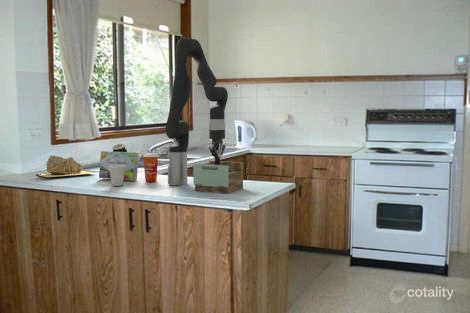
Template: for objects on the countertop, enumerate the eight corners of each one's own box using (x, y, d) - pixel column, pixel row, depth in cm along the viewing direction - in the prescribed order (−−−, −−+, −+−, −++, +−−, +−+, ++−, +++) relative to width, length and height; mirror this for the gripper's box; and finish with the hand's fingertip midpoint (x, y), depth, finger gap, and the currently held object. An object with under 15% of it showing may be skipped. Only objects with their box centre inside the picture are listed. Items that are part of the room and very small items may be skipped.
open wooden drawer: (194, 190, 240) (194, 163, 239) (210, 186, 254) (210, 160, 253) (228, 193, 232) (228, 165, 231) (242, 188, 247) (243, 162, 245)
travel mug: (114, 176, 287) (108, 147, 279) (123, 171, 293) (118, 142, 286) (124, 179, 283) (119, 149, 275) (134, 173, 289) (128, 144, 282)
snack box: (98, 178, 276) (100, 150, 278) (103, 178, 282) (105, 152, 283) (132, 179, 270) (134, 152, 271) (137, 180, 275) (139, 153, 277)
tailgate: (192, 186, 238) (192, 164, 237) (194, 185, 239) (194, 163, 238) (226, 188, 230) (226, 166, 229) (228, 188, 232) (228, 165, 231)
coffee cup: (140, 181, 270) (140, 154, 269) (147, 179, 278) (147, 152, 276) (154, 182, 268) (154, 154, 266) (161, 180, 275) (161, 153, 274)
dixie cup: (105, 185, 258) (105, 165, 257) (116, 183, 265) (116, 164, 264) (118, 186, 254) (117, 166, 253) (129, 184, 261) (128, 165, 260)
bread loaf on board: (46, 176, 280) (41, 151, 286) (39, 192, 296) (33, 168, 301) (95, 172, 296) (89, 148, 302) (85, 188, 312) (80, 164, 318)
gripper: (216, 128, 246) (216, 163, 248) (203, 129, 234) (204, 166, 236) (230, 128, 243) (230, 164, 245) (217, 129, 231) (218, 166, 233)
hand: (217, 165), depth 240 cm, fingers closed
